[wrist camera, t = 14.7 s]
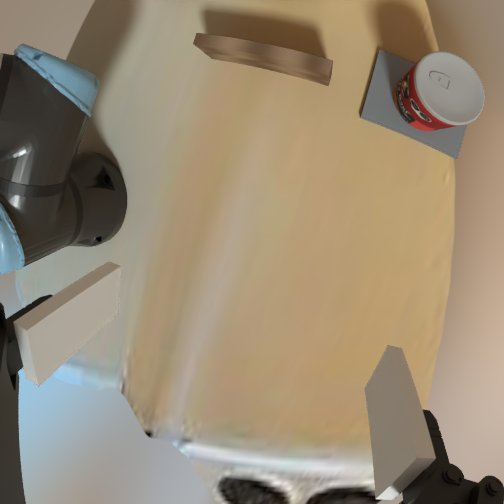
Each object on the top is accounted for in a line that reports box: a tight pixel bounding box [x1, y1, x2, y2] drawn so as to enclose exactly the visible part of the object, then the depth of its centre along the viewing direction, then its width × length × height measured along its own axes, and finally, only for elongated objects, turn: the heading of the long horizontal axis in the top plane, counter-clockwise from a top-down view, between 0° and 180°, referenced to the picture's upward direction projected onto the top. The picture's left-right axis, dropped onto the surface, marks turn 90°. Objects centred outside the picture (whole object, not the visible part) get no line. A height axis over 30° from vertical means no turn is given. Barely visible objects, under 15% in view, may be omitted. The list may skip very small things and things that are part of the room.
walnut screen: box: [193, 33, 333, 86], centre depth 34 cm, size 16×2×7 cm, turn 74°
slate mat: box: [360, 50, 467, 159], centre depth 34 cm, size 14×10×1 cm
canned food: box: [394, 51, 485, 131], centre depth 29 cm, size 8×8×11 cm
